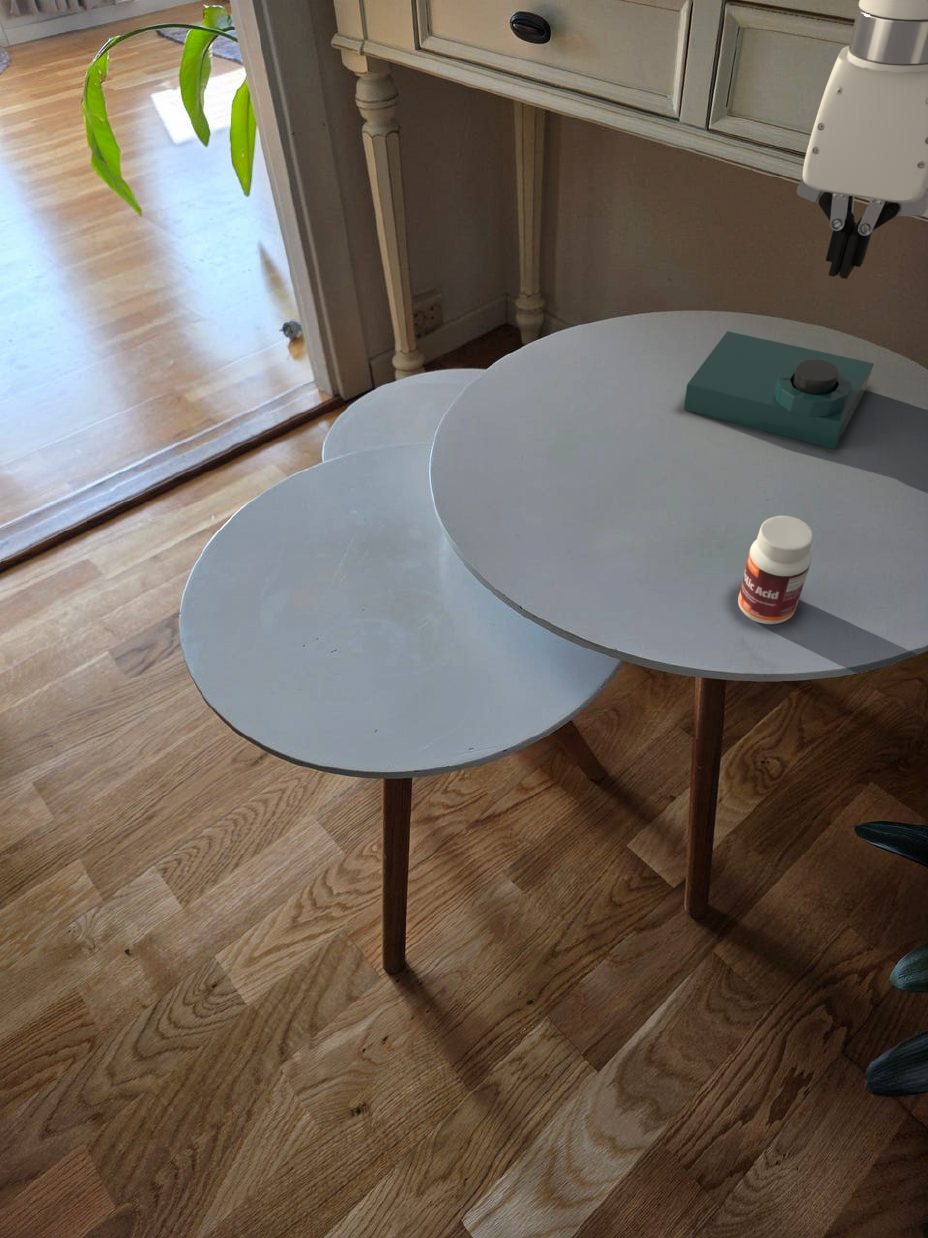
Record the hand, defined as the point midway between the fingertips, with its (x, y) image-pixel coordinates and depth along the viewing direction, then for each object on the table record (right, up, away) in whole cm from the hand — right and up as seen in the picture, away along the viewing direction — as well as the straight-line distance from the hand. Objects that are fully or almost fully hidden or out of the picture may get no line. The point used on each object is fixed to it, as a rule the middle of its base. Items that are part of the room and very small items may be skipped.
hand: (841, 270), depth 79 cm
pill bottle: (-9, -31, -5) cm, 32 cm away
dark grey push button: (+1, -8, +9) cm, 12 cm away
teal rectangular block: (-1, -8, +15) cm, 17 cm away
